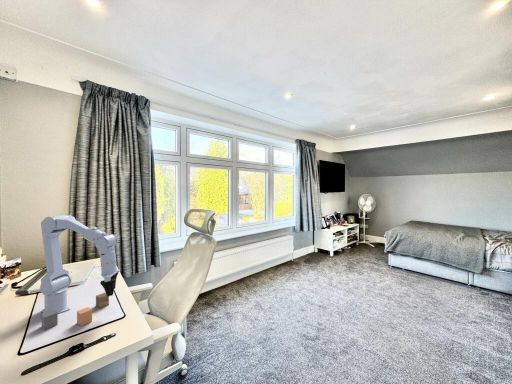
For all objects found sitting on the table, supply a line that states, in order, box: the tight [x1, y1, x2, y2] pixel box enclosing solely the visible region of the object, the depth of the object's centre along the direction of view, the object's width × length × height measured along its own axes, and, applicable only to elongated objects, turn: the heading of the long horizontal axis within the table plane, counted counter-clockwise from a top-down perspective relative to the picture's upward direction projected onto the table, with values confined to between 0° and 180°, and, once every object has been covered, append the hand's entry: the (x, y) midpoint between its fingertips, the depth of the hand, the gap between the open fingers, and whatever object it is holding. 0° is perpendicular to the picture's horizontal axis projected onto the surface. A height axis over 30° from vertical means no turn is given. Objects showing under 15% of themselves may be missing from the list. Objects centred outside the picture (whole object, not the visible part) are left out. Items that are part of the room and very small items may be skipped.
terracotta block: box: [76, 306, 93, 327], centre depth 92 cm, size 4×4×5 cm
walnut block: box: [95, 292, 110, 309], centre depth 106 cm, size 4×4×5 cm
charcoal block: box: [41, 310, 59, 331], centre depth 90 cm, size 4×4×5 cm
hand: (111, 292), depth 98 cm, fingers open, 7 cm apart
